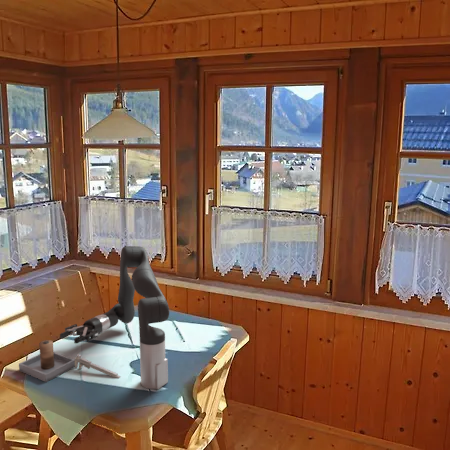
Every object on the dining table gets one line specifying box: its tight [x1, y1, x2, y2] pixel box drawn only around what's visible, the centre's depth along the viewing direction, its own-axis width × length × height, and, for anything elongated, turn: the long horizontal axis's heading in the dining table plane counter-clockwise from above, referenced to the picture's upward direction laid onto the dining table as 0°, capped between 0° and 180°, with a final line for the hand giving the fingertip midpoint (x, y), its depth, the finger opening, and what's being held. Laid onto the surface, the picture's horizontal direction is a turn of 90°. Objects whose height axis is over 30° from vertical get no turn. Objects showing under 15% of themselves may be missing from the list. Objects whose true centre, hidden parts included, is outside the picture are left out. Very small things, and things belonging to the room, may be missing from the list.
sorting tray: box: [18, 351, 75, 383], centre depth 188 cm, size 16×14×3 cm
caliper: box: [74, 353, 121, 379], centre depth 185 cm, size 20×1×6 cm, turn 69°
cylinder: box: [38, 339, 55, 369], centre depth 187 cm, size 5×5×10 cm
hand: (67, 338), depth 195 cm, fingers open, 8 cm apart
